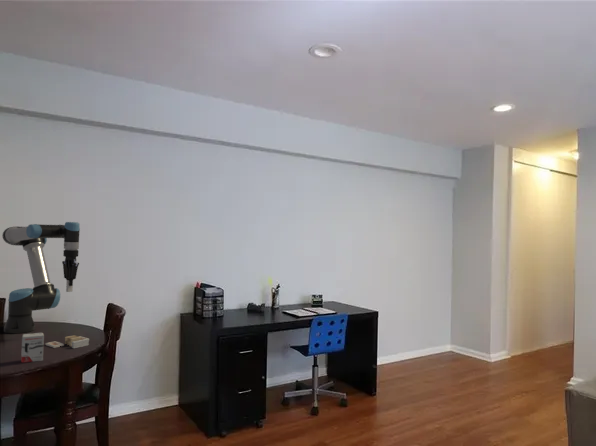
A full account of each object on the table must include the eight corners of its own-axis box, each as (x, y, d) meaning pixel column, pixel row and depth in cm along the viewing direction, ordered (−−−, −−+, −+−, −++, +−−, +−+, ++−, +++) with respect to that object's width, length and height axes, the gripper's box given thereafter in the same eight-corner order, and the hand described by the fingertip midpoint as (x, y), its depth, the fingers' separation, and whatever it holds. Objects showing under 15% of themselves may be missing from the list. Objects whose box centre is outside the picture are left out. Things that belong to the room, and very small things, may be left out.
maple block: (64, 344, 234) (65, 337, 234) (74, 342, 238) (74, 335, 238) (71, 346, 230) (71, 338, 231) (80, 344, 235) (80, 337, 235)
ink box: (21, 363, 202) (22, 336, 202) (20, 360, 206) (22, 334, 206) (43, 360, 206) (44, 334, 206) (42, 357, 210) (43, 332, 210)
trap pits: (45, 345, 231) (45, 343, 231) (80, 338, 247) (80, 336, 247) (54, 347, 227) (54, 345, 227) (89, 340, 243) (89, 338, 243)
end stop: (71, 347, 228) (71, 341, 228) (86, 344, 235) (86, 338, 235) (73, 348, 227) (74, 342, 227) (88, 345, 234) (88, 339, 234)
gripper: (58, 248, 254) (56, 290, 254) (71, 250, 247) (69, 293, 247) (71, 248, 260) (69, 289, 260) (84, 250, 253) (82, 292, 253)
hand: (69, 291), depth 253 cm, fingers closed
